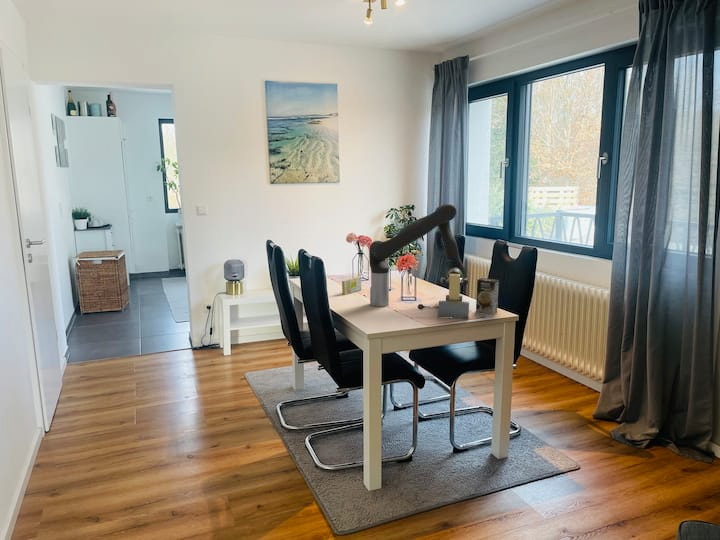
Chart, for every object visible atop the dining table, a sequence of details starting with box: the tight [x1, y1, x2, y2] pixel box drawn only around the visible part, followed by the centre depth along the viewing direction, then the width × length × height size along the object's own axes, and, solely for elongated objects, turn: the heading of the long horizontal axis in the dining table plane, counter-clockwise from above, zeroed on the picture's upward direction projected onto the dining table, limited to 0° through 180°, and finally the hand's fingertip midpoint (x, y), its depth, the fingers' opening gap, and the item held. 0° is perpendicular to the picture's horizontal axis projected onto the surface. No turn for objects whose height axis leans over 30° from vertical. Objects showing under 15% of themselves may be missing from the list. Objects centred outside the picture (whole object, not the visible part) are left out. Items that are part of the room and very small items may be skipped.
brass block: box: [448, 274, 461, 301], centre depth 258 cm, size 5×5×15 cm
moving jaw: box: [445, 294, 463, 302], centre depth 266 cm, size 8×4×8 cm, turn 80°
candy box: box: [341, 276, 362, 296], centre depth 310 cm, size 16×2×8 cm, turn 144°
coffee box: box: [475, 277, 500, 315], centre depth 264 cm, size 9×6×16 cm
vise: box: [417, 300, 470, 320], centre depth 261 cm, size 24×15×8 cm, turn 80°
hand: (454, 284), depth 254 cm, fingers closed on brass block, 5 cm apart
